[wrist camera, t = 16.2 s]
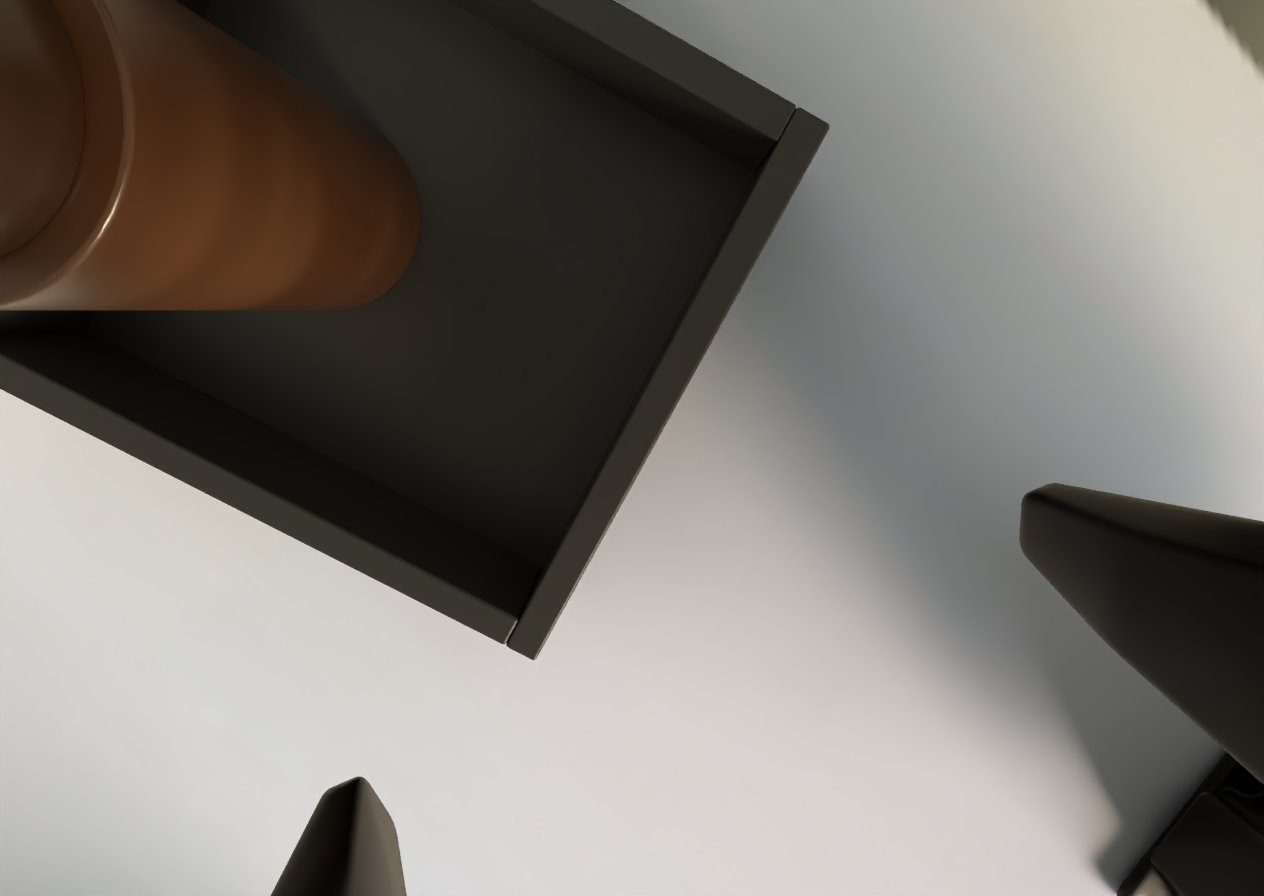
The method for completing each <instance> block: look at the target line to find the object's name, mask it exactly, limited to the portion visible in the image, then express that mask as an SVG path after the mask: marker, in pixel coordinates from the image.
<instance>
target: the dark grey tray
mask: <svg viewBox="0 0 1264 896" xmlns="http://www.w3.org/2000/svg"><path fill="white" fill-rule="evenodd" d="M176 1H177V2H179V3H180V4H182V5H184V6H185V7H187V8H188V9H190V10H191V11H193V12H194V13H196V14H197V15H199V16H201V17H202V18H204V19H205V20H207V21H208V22H210V23H211V24H213V25H215V26H216V27H218V28H219V29H221V30H222V31H224V32H225V33H227V34H228V35H230V36H232V37H233V38H235V39H236V40H238V41H239V42H241V43H242V44H244V45H246V46H247V47H249V48H250V49H252V50H253V51H255V52H256V53H258V54H260V55H261V56H263V57H264V58H266V59H267V60H269V61H270V62H272V63H273V64H275V65H277V66H278V67H280V68H281V69H283V70H284V71H286V72H287V73H289V74H291V75H292V76H294V77H295V78H297V79H298V80H300V81H301V82H303V83H304V84H306V85H308V86H309V87H311V88H312V89H314V90H315V91H317V92H318V93H320V94H322V95H323V96H325V97H326V98H328V99H329V100H331V101H332V102H334V103H335V104H337V105H339V106H340V107H342V108H343V109H345V110H346V111H348V112H349V113H351V114H353V115H354V116H356V117H357V118H359V119H360V120H362V121H363V122H365V123H366V124H368V125H370V126H371V127H373V128H374V129H375V130H376V131H378V132H379V133H380V134H382V135H383V136H384V137H385V138H386V139H387V140H388V141H389V142H390V143H391V144H392V145H393V146H394V148H395V149H396V150H397V152H398V153H399V154H400V155H401V157H402V159H403V160H404V162H405V164H406V165H407V167H408V169H409V171H410V174H411V176H412V178H413V181H414V184H415V187H416V190H417V194H418V200H419V205H420V231H419V237H418V242H417V246H416V249H415V252H414V255H413V257H412V259H411V261H410V263H409V265H408V267H407V269H406V270H405V272H404V273H403V275H402V276H401V278H400V279H399V280H398V281H397V282H396V283H395V285H394V286H393V287H392V288H390V289H389V290H388V291H387V292H386V293H385V294H383V295H382V296H380V297H378V298H377V299H375V300H374V301H372V302H369V303H367V304H365V305H363V306H359V307H356V308H352V309H347V310H340V311H181V310H0V389H2V390H4V391H6V392H8V393H10V394H12V395H14V396H15V397H17V398H19V399H21V400H23V401H25V402H27V403H29V404H31V405H33V406H35V407H37V408H39V409H41V410H43V411H45V412H47V413H49V414H51V415H53V416H55V417H57V418H59V419H61V420H63V421H65V422H67V423H69V424H71V425H73V426H74V427H76V428H78V429H80V430H82V431H84V432H86V433H88V434H90V435H92V436H94V437H96V438H98V439H100V440H102V441H104V442H106V443H108V444H110V445H112V446H114V447H116V448H118V449H120V450H122V451H124V452H126V453H128V454H130V455H132V456H133V457H135V458H137V459H139V460H141V461H143V462H145V463H147V464H149V465H151V466H153V467H155V468H157V469H159V470H161V471H163V472H165V473H167V474H169V475H171V476H173V477H175V478H177V479H179V480H181V481H183V482H185V483H187V484H189V485H191V486H192V487H194V488H196V489H198V490H200V491H202V492H204V493H206V494H208V495H210V496H212V497H214V498H216V499H218V500H220V501H222V502H224V503H226V504H228V505H230V506H232V507H234V508H236V509H238V510H240V511H242V512H244V513H246V514H248V515H250V516H251V517H253V518H255V519H257V520H259V521H261V522H263V523H265V524H267V525H269V526H271V527H273V528H275V529H277V530H279V531H281V532H283V533H285V534H287V535H289V536H291V537H293V538H295V539H297V540H299V541H301V542H303V543H305V544H307V545H309V546H310V547H312V548H314V549H316V550H318V551H320V552H322V553H324V554H326V555H328V556H330V557H332V558H334V559H336V560H338V561H340V562H342V563H344V564H346V565H348V566H350V567H352V568H354V569H356V570H358V571H360V572H362V573H364V574H366V575H368V576H369V577H371V578H373V579H375V580H377V581H379V582H381V583H383V584H385V585H387V586H389V587H391V588H393V589H395V590H397V591H399V592H401V593H403V594H405V595H407V596H409V597H411V598H413V599H415V600H417V601H419V602H421V603H423V604H425V605H427V606H429V607H430V608H432V609H434V610H436V611H438V612H440V613H442V614H444V615H446V616H448V617H450V618H452V619H454V620H456V621H458V622H460V623H462V624H464V625H466V626H468V627H470V628H472V629H474V630H476V631H478V632H480V633H482V634H484V635H486V636H488V637H489V638H491V639H493V640H495V641H497V642H499V643H501V644H505V643H507V647H509V648H510V649H512V650H514V651H516V652H518V653H520V654H522V655H524V656H526V657H528V658H530V659H532V660H535V659H536V658H537V656H538V655H539V653H540V651H541V649H542V647H543V645H544V644H545V642H546V640H547V638H548V636H549V635H550V633H551V631H552V629H553V627H554V626H555V624H556V622H557V620H558V618H559V617H560V615H561V613H562V611H563V609H564V608H565V606H566V604H567V602H568V600H569V598H570V597H571V595H572V593H573V591H574V589H575V588H576V586H577V584H578V582H579V580H580V579H581V577H582V575H583V573H584V571H585V570H586V568H587V566H588V564H589V562H590V561H591V559H592V557H593V555H594V553H595V551H596V550H597V548H598V546H599V544H600V542H601V541H602V539H603V537H604V535H605V533H606V532H607V530H608V528H609V526H610V524H611V523H612V521H613V519H614V517H615V515H616V513H617V512H618V510H619V508H620V506H621V504H622V503H623V501H624V499H625V497H626V495H627V494H628V492H629V490H630V488H631V486H632V485H633V483H634V481H635V479H636V477H637V476H638V474H639V472H640V470H641V468H642V466H643V465H644V463H645V461H646V459H647V457H648V456H649V454H650V452H651V450H652V448H653V447H654V445H655V443H656V441H657V439H658V438H659V436H660V434H661V432H662V430H663V428H664V427H665V425H666V423H667V421H668V419H669V418H670V416H671V414H672V412H673V410H674V409H675V407H676V405H677V403H678V401H679V400H680V398H681V396H682V394H683V392H684V391H685V389H686V387H687V385H688V383H689V381H690V380H691V378H692V376H693V374H694V372H695V371H696V369H697V367H698V365H699V363H700V362H701V360H702V358H703V356H704V354H705V353H706V351H707V349H708V347H709V345H710V344H711V342H712V340H713V338H714V336H715V334H716V333H717V331H718V329H719V327H720V325H721V324H722V322H723V320H724V318H725V316H726V315H727V313H728V311H729V309H730V307H731V306H732V304H733V302H734V300H735V298H736V296H737V295H738V293H739V291H740V289H741V287H742V286H743V284H744V282H745V280H746V278H747V277H748V275H749V273H750V271H751V269H752V268H753V266H754V264H755V262H756V260H757V259H758V257H759V255H760V253H761V251H762V249H763V248H764V246H765V244H766V242H767V240H768V239H769V237H770V235H771V233H772V231H773V230H774V228H775V226H776V224H777V222H778V221H779V219H780V217H781V215H782V213H783V211H784V210H785V208H786V206H787V204H788V202H789V201H790V199H791V197H792V195H793V193H794V192H795V190H796V188H797V186H798V184H799V183H800V181H801V179H802V177H803V175H804V174H805V172H806V170H807V168H808V166H809V164H810V163H811V161H812V159H813V157H814V155H815V154H816V152H817V150H818V148H819V146H820V145H821V143H822V141H823V139H824V137H825V136H826V134H827V132H828V130H829V124H828V123H826V122H824V121H823V120H821V119H819V118H817V117H816V116H814V115H812V114H810V113H809V112H807V111H805V110H803V109H802V108H797V109H796V106H795V104H793V103H791V102H790V101H788V100H786V99H784V98H783V97H781V96H779V95H777V94H776V93H774V92H772V91H770V90H769V89H767V88H765V87H763V86H762V85H760V84H758V83H757V82H755V81H753V80H751V79H750V78H748V77H746V76H744V75H743V74H741V73H739V72H737V71H736V70H734V69H732V68H730V67H729V66H727V65H725V64H723V63H722V62H720V61H718V60H716V59H715V58H713V57H711V56H709V55H708V54H706V53H704V52H702V51H701V50H699V49H697V48H695V47H694V46H692V45H690V44H689V43H687V42H685V41H683V40H682V39H680V38H678V37H676V36H675V35H673V34H671V33H669V32H668V31H666V30H664V29H662V28H661V27H659V26H657V25H655V24H654V23H652V22H650V21H648V20H647V19H645V18H643V17H641V16H640V15H638V14H636V13H634V12H633V11H631V10H629V9H627V8H626V7H624V6H622V5H621V4H619V3H617V2H615V1H614V0H176ZM795 109H796V110H795Z"/></svg>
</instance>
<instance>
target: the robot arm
mask: <svg viewBox="0 0 1264 896" xmlns="http://www.w3.org/2000/svg"><path fill="white" fill-rule="evenodd" d="M1019 541H1020V546H1021V549H1022V551H1023V553H1024V554H1025V556H1026V557H1027V559H1028V560H1029V561H1030V562H1031V563H1032V564H1033V565H1034V566H1035V567H1036V568H1037V570H1038V571H1039V572H1040V573H1041V574H1042V575H1043V576H1044V577H1045V578H1046V579H1047V580H1048V581H1049V582H1050V584H1051V585H1052V586H1053V587H1054V588H1055V589H1056V590H1057V591H1058V592H1059V593H1060V594H1061V595H1062V596H1063V598H1064V599H1065V600H1066V601H1067V602H1068V603H1069V604H1070V605H1071V606H1072V607H1073V608H1074V609H1075V610H1076V612H1077V613H1078V614H1079V615H1080V616H1081V617H1082V618H1083V619H1084V620H1085V621H1086V622H1087V623H1088V624H1089V626H1090V627H1091V628H1092V629H1093V630H1094V631H1095V632H1096V633H1097V634H1098V635H1099V636H1100V637H1101V638H1102V639H1103V640H1104V641H1105V642H1106V643H1107V644H1108V645H1109V646H1110V647H1111V648H1112V649H1113V650H1114V651H1115V652H1116V653H1118V654H1119V655H1120V656H1121V657H1122V658H1123V659H1124V660H1125V661H1126V662H1127V663H1129V664H1130V665H1131V666H1132V667H1133V668H1134V669H1135V670H1136V671H1137V672H1139V673H1140V674H1141V675H1142V676H1143V677H1144V678H1145V679H1146V680H1147V681H1149V682H1150V683H1151V684H1152V685H1153V686H1154V687H1155V688H1156V689H1158V690H1159V691H1160V692H1161V693H1162V694H1163V695H1164V696H1165V697H1166V698H1168V699H1169V700H1170V701H1171V702H1172V703H1173V704H1174V705H1175V706H1177V707H1178V708H1179V709H1180V710H1181V711H1182V712H1183V713H1184V714H1185V715H1187V716H1188V717H1189V718H1190V719H1191V720H1192V721H1193V722H1194V723H1196V724H1197V725H1198V726H1199V727H1200V728H1201V729H1202V730H1203V731H1204V732H1206V733H1207V734H1208V735H1209V736H1210V737H1211V738H1212V739H1213V740H1215V741H1216V742H1217V743H1218V744H1219V745H1220V746H1221V747H1222V748H1223V749H1225V750H1226V751H1227V753H1226V754H1225V755H1224V756H1223V758H1222V759H1221V760H1220V762H1219V763H1218V764H1217V765H1216V767H1215V768H1214V769H1213V770H1212V772H1211V773H1210V774H1209V775H1208V777H1207V778H1206V779H1205V780H1204V782H1203V783H1202V784H1201V785H1200V787H1199V788H1198V789H1197V791H1196V792H1195V793H1194V794H1193V796H1192V797H1191V798H1190V799H1189V801H1188V802H1187V803H1186V804H1185V806H1184V807H1183V808H1182V809H1181V811H1180V812H1179V813H1178V814H1177V816H1176V817H1175V818H1174V820H1173V821H1172V822H1171V823H1170V825H1169V826H1168V827H1167V828H1166V830H1165V831H1164V832H1163V833H1162V835H1161V836H1160V837H1159V838H1158V840H1157V841H1156V842H1155V843H1154V845H1153V846H1152V847H1151V848H1150V850H1149V851H1148V852H1147V854H1146V855H1145V856H1144V857H1143V859H1142V860H1141V861H1140V862H1139V864H1138V865H1137V866H1136V867H1135V869H1134V870H1133V871H1132V872H1131V874H1130V875H1129V876H1128V877H1127V879H1126V880H1125V881H1124V883H1123V884H1122V885H1121V886H1120V888H1119V890H1118V891H1117V896H1264V522H1263V521H1257V520H1252V519H1247V518H1241V517H1236V516H1230V515H1225V514H1220V513H1214V512H1209V511H1203V510H1198V509H1193V508H1187V507H1182V506H1177V505H1171V504H1166V503H1160V502H1155V501H1150V500H1144V499H1139V498H1133V497H1128V496H1123V495H1117V494H1112V493H1107V492H1101V491H1096V490H1091V489H1085V488H1080V487H1074V486H1069V485H1064V484H1058V483H1051V484H1047V485H1045V486H1042V487H1040V488H1037V489H1035V490H1033V491H1030V492H1028V493H1027V494H1025V496H1024V497H1023V499H1022V503H1021V519H1020V536H1019ZM271 896H407V895H406V889H405V882H404V876H403V869H402V863H401V856H400V850H399V843H398V837H397V833H396V829H395V826H394V823H393V820H392V818H391V816H390V815H389V813H388V812H387V810H386V808H385V807H384V805H383V804H382V802H381V801H380V799H379V798H378V796H377V795H376V793H375V791H374V790H373V788H372V787H371V785H370V784H369V782H368V781H367V780H366V779H364V778H363V777H355V778H353V779H350V780H348V781H346V782H343V783H341V784H339V785H336V786H334V787H332V788H330V789H328V790H327V791H326V792H325V793H324V794H323V796H322V797H321V799H320V801H319V803H318V805H317V807H316V809H315V811H314V812H313V814H312V816H311V818H310V820H309V822H308V824H307V826H306V828H305V830H304V832H303V834H302V836H301V838H300V840H299V842H298V844H297V846H296V847H295V849H294V851H293V853H292V855H291V857H290V859H289V861H288V863H287V865H286V867H285V869H284V871H283V873H282V875H281V877H280V879H279V881H278V882H277V884H276V886H275V888H274V890H273V892H272V894H271Z"/></svg>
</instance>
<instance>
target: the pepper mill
mask: <svg viewBox="0 0 1264 896" xmlns="http://www.w3.org/2000/svg"><path fill="white" fill-rule="evenodd" d="M419 231H420V205H419V200H418V194H417V190H416V187H415V184H414V181H413V178H412V176H411V174H410V171H409V169H408V167H407V165H406V164H405V162H404V160H403V159H402V157H401V155H400V154H399V153H398V152H397V150H396V149H395V148H394V146H393V145H392V144H391V143H390V142H389V141H388V140H387V139H386V138H385V137H384V136H383V135H382V134H380V133H379V132H378V131H376V130H375V129H374V128H373V127H371V126H370V125H368V124H366V123H365V122H363V121H362V120H360V119H359V118H357V117H356V116H354V115H353V114H351V113H349V112H348V111H346V110H345V109H343V108H342V107H340V106H339V105H337V104H335V103H334V102H332V101H331V100H329V99H328V98H326V97H325V96H323V95H322V94H320V93H318V92H317V91H315V90H314V89H312V88H311V87H309V86H308V85H306V84H304V83H303V82H301V81H300V80H298V79H297V78H295V77H294V76H292V75H291V74H289V73H287V72H286V71H284V70H283V69H281V68H280V67H278V66H277V65H275V64H273V63H272V62H270V61H269V60H267V59H266V58H264V57H263V56H261V55H260V54H258V53H256V52H255V51H253V50H252V49H250V48H249V47H247V46H246V45H244V44H242V43H241V42H239V41H238V40H236V39H235V38H233V37H232V36H230V35H228V34H227V33H225V32H224V31H222V30H221V29H219V28H218V27H216V26H215V25H213V24H211V23H210V22H208V21H207V20H205V19H204V18H202V17H201V16H199V15H197V14H196V13H194V12H193V11H191V10H190V9H188V8H187V7H185V6H184V5H182V4H180V3H179V2H177V1H176V0H0V310H181V311H340V310H347V309H352V308H356V307H359V306H363V305H365V304H367V303H369V302H372V301H374V300H375V299H377V298H378V297H380V296H382V295H383V294H385V293H386V292H387V291H388V290H389V289H390V288H392V287H393V286H394V285H395V283H396V282H397V281H398V280H399V279H400V278H401V276H402V275H403V273H404V272H405V270H406V269H407V267H408V265H409V263H410V261H411V259H412V257H413V255H414V252H415V249H416V246H417V242H418V237H419Z"/></svg>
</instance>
